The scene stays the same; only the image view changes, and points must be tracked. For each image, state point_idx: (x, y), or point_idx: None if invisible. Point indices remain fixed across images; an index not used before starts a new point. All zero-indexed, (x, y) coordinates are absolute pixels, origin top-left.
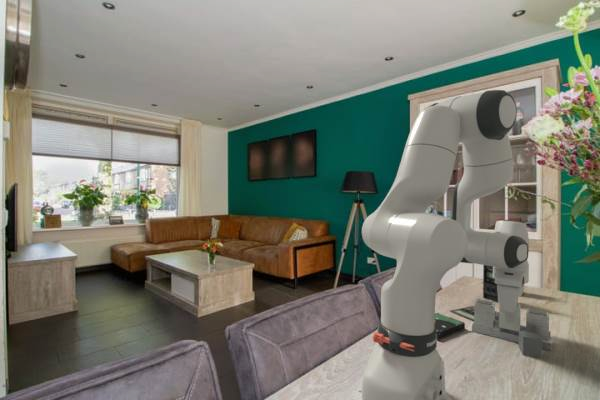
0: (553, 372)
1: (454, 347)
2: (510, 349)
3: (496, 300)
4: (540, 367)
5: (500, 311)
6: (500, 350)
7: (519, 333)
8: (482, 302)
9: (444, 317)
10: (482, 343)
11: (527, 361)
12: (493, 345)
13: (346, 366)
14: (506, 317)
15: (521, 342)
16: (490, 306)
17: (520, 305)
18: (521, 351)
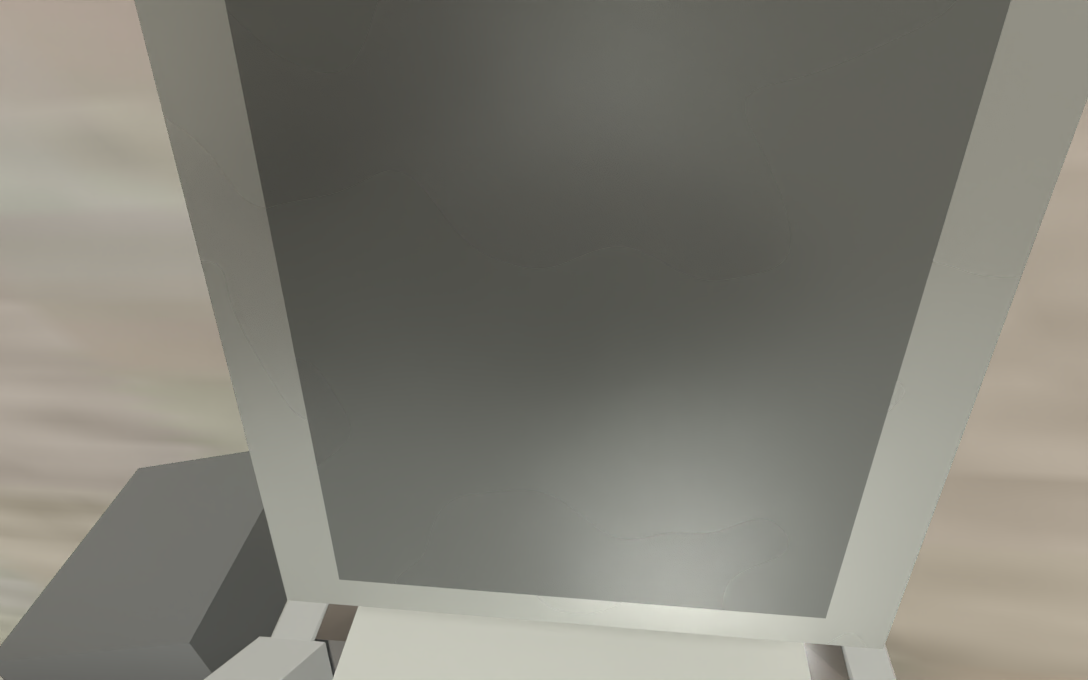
0: (11, 623)
1: None
2: (167, 367)
3: None
4: (5, 563)
5: (362, 625)
6: (20, 268)
7: (186, 610)
8: (328, 228)
9: None
10: (8, 25)
11: (19, 491)
12: (94, 182)
13: None
14: (281, 635)
15: (136, 550)
16: (282, 492)
17: None
18: (195, 465)
